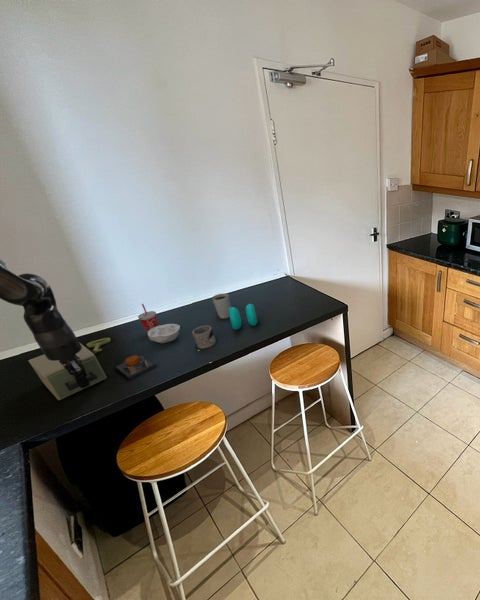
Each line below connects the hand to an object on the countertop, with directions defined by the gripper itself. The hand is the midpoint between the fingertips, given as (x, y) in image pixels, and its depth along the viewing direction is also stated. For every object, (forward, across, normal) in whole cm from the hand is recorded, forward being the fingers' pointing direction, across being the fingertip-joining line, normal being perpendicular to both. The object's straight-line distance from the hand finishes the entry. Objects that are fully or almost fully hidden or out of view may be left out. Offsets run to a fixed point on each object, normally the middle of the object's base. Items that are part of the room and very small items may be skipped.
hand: (85, 386), depth 99 cm
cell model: (+4, -14, +29) cm, 33 cm away
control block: (+4, -4, +14) cm, 15 cm away
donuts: (+5, +4, +53) cm, 53 cm away
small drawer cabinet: (+4, -14, 0) cm, 15 cm away
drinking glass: (+5, -13, +54) cm, 56 cm away
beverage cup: (+4, -25, +29) cm, 39 cm away
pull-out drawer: (+3, -10, 0) cm, 11 cm away
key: (+4, -32, +12) cm, 35 cm away
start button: (+2, -4, +14) cm, 15 cm away
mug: (+5, +1, +37) cm, 37 cm away
